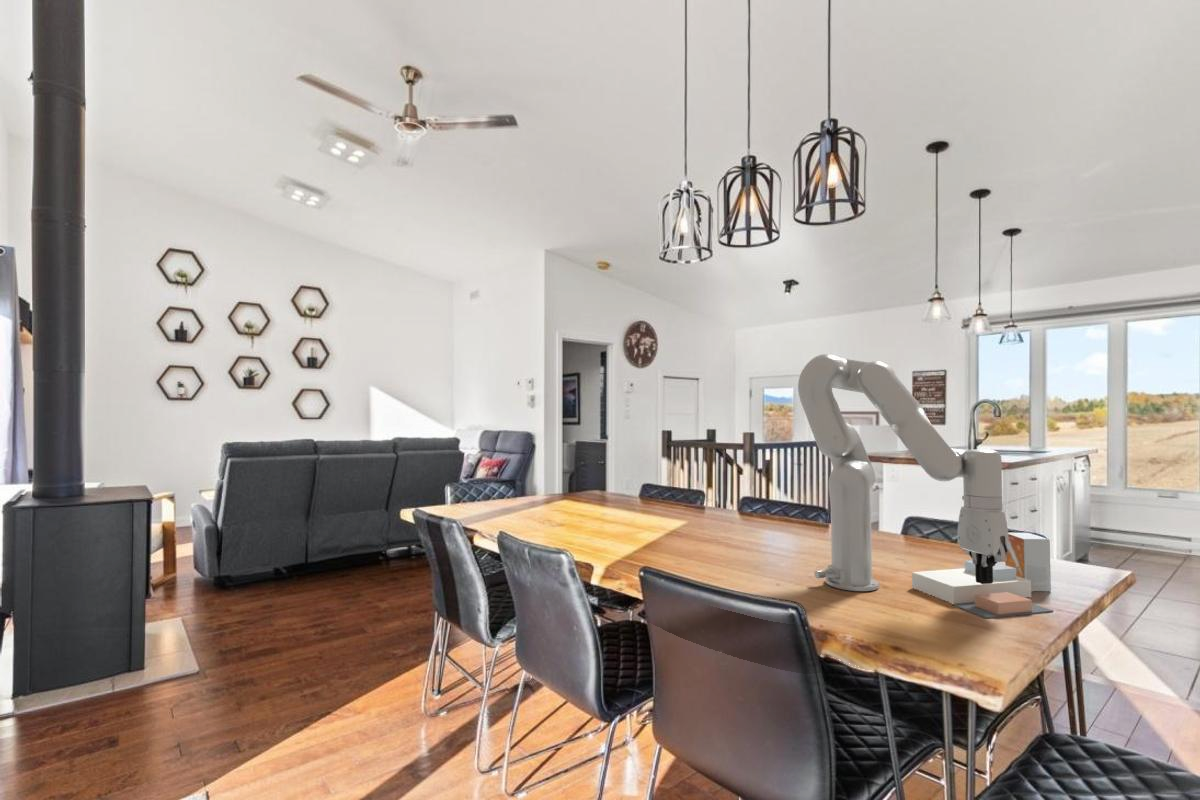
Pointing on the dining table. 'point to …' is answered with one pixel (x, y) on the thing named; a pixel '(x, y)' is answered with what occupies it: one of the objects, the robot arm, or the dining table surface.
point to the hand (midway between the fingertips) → (984, 582)
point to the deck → (965, 585)
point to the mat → (987, 614)
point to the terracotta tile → (1003, 603)
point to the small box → (1030, 559)
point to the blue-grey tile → (995, 571)
